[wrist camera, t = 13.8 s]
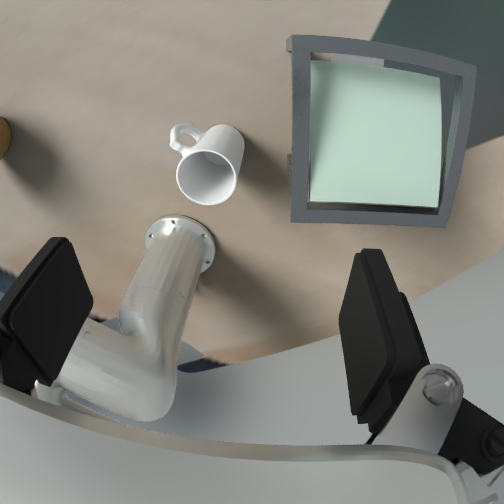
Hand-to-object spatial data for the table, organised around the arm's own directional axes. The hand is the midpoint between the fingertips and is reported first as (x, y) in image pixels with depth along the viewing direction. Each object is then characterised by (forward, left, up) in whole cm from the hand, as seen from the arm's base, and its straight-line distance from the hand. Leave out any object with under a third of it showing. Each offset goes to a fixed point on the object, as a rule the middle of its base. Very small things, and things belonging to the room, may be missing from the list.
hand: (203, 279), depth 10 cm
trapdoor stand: (-1, -12, -36) cm, 38 cm away
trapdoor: (-1, -12, -23) cm, 26 cm away
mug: (-6, +7, -36) cm, 37 cm away
